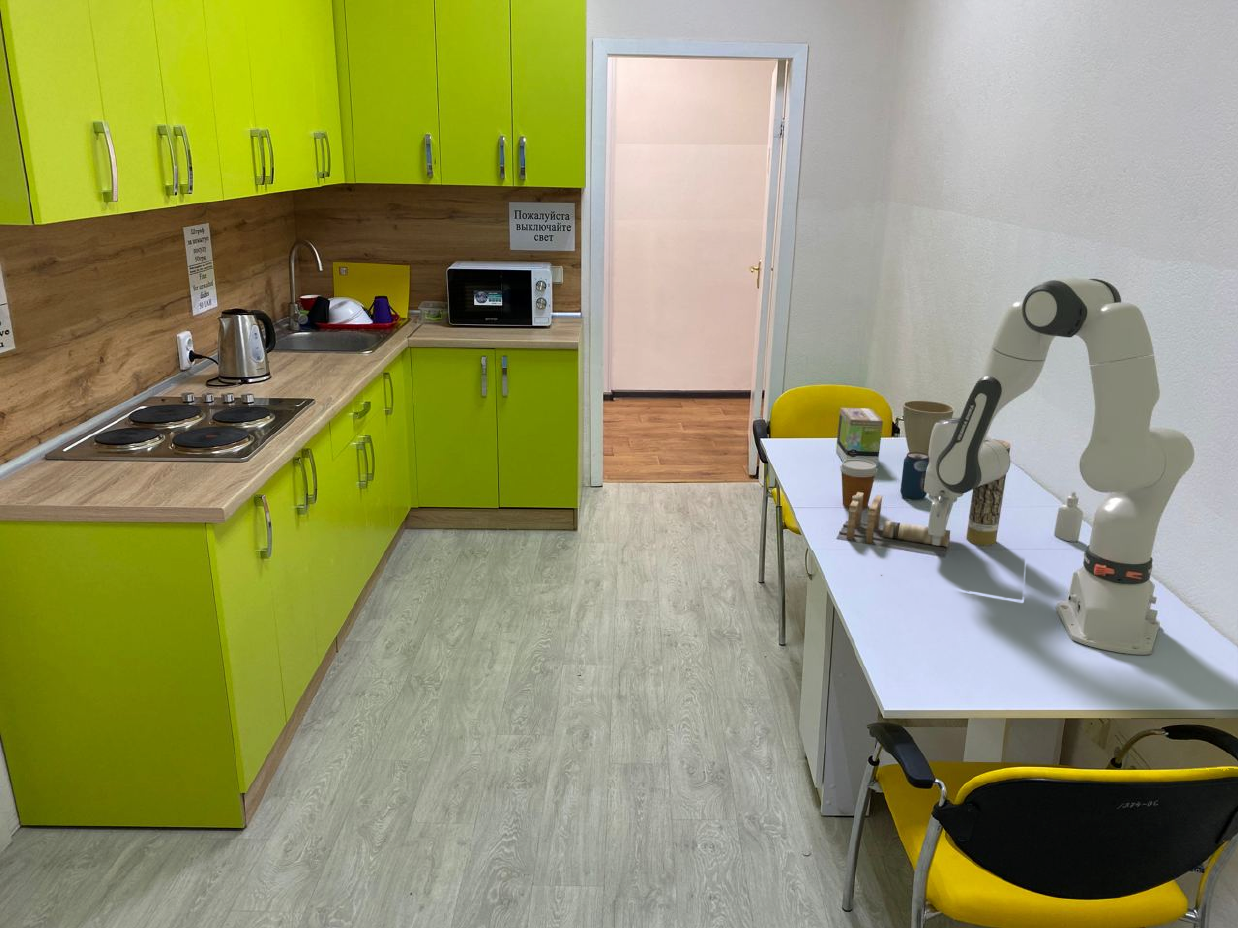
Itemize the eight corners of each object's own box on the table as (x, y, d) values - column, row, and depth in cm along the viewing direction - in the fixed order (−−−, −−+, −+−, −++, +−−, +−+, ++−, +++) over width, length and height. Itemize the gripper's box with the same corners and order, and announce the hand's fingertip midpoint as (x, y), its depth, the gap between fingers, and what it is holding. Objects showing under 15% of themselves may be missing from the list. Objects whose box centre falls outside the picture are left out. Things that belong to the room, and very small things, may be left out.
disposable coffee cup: (859, 516, 246) (863, 472, 242) (829, 506, 252) (832, 463, 249) (880, 508, 252) (885, 465, 248) (850, 498, 258) (854, 456, 255)
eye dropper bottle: (1068, 533, 237) (1076, 488, 233) (1080, 542, 231) (1088, 496, 228) (1051, 533, 236) (1059, 488, 233) (1062, 542, 231) (1071, 496, 227)
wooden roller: (948, 544, 227) (950, 528, 226) (947, 549, 224) (949, 533, 223) (884, 534, 233) (886, 518, 232) (881, 539, 229) (883, 523, 228)
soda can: (925, 502, 256) (931, 460, 252) (899, 499, 258) (903, 457, 254) (926, 494, 262) (931, 452, 259) (900, 491, 264) (905, 450, 261)
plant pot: (946, 466, 287) (953, 414, 282) (895, 459, 292) (901, 409, 287) (948, 452, 300) (955, 403, 295) (900, 446, 305) (905, 398, 300)
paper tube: (997, 549, 227) (1013, 448, 219) (967, 546, 228) (982, 446, 220) (993, 538, 233) (1007, 440, 225) (964, 535, 234) (977, 438, 226)
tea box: (878, 468, 284) (884, 420, 279) (845, 467, 284) (849, 419, 280) (867, 452, 298) (871, 407, 294) (834, 452, 298) (839, 406, 294)
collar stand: (944, 559, 220) (949, 520, 217) (835, 541, 230) (839, 503, 227) (949, 539, 232) (954, 502, 229) (846, 523, 241) (849, 486, 238)
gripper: (954, 501, 212) (947, 558, 216) (962, 474, 230) (955, 528, 234) (925, 497, 214) (918, 553, 218) (934, 470, 232) (928, 523, 236)
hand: (937, 540), depth 226 cm, fingers closed on wooden roller, 4 cm apart
